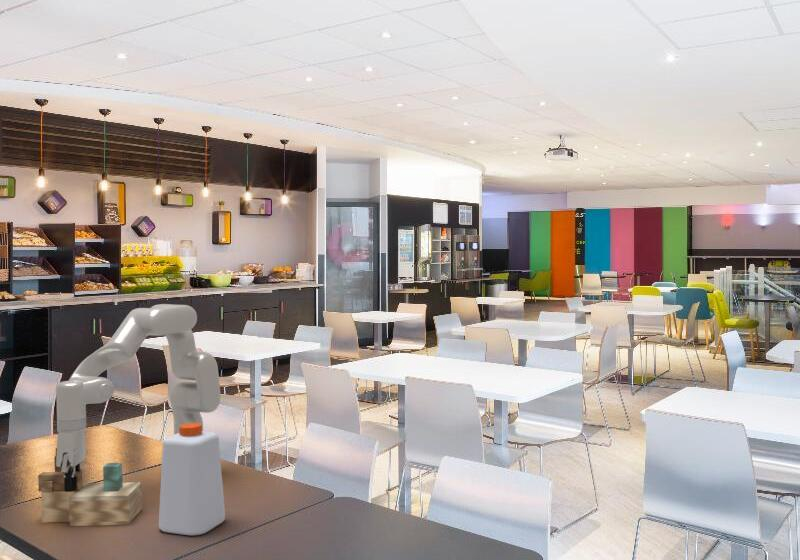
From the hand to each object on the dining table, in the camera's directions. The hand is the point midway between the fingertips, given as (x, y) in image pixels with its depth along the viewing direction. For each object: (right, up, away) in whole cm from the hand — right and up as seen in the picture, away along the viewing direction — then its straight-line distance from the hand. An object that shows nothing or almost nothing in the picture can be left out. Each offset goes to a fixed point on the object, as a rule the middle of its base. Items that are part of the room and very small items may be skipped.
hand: (73, 488), depth 210 cm
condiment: (-18, -8, +33) cm, 39 cm away
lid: (+9, -3, +1) cm, 10 cm away
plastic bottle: (+36, -9, -6) cm, 37 cm away
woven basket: (+5, -9, +1) cm, 10 cm away
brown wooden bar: (-4, 0, 0) cm, 4 cm away
